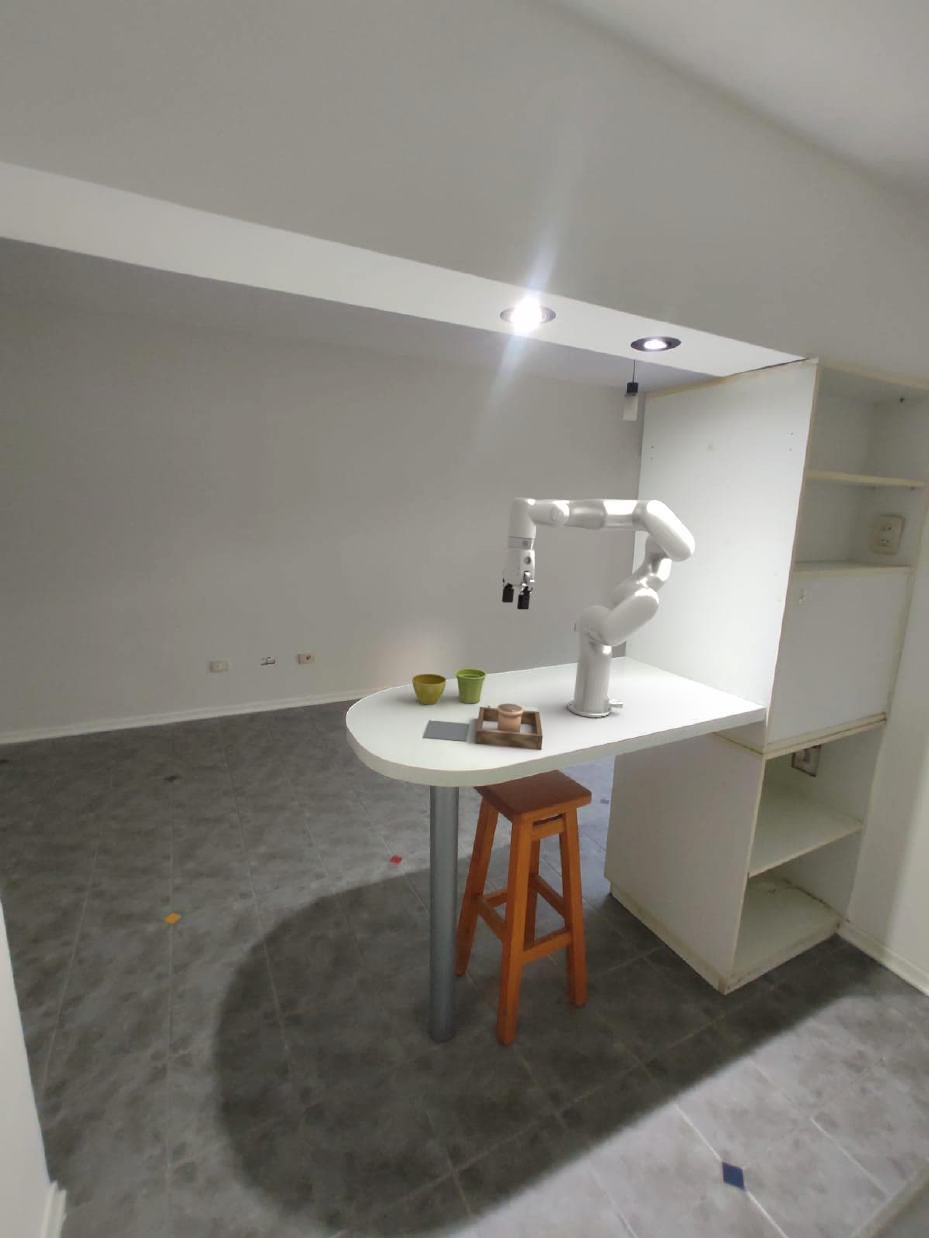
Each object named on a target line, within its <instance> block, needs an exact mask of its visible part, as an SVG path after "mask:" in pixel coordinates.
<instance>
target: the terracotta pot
mask: <svg viewBox="0 0 929 1238" xmlns="http://www.w3.org/2000/svg"><path fill="white" fill-rule="evenodd" d="M499 704H500V705H498V707H497V712H498V722H497V725H496V726H497V729H496V730H498V731H510V732H521V726H522V725H521V715H523V708H522V707H521V706H522V705H518V704H516V703H510V702H509V703H499Z"/></svg>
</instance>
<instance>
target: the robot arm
mask: <svg viewBox="0 0 929 1238" xmlns="http://www.w3.org/2000/svg"><path fill="white" fill-rule="evenodd" d="M509 508H510V509H509V520H508V528H507V529H508V530H507V541H506V549H507V550H506V551H507V552H506V556H505V562H504V570H503V571H502V598H501V601H502V603H504V604H505V603H510V604H511V603H513V602H514V594H515V588H514V586H515V587H518V591H519V594H518V596H517V607H516V608H517V610H526V611H527V610H529V609H530V607H529V606H530V598H531V595H532V592H533V587H534V584H535V567H536V566H535V565H536V564H535V562H536V561H535V560H536V559H535V557H536V556H535V545H536V536H537V527H538V526H540V527H546V528H551V529H552V528H553V529H556V528H560V527H566V528H567V527H571V528H580V529H585V530H586V529H587V530H590V531H591V530H593V531H596V530H597V531H621V532H623V531H625V532H627V531H628V532H645V533H648V535H647V537H646V540H645V545H644V559H643V561H642V562H641V565H639V567H638V568H637V569H635V571H634V572H633V573H631V574H630V575H629V576H628V577H626V579H625V580H624V581H622V582H621V583H620V584H618V585H617V586H616V587H615V588H614V589H613V590H612V592H611V594H610V596H609V604H610V605H611V608H613V609H610V608H608V607H606V606H603V605H600V604H599V605H597V604H595V605H591V606H588V607H586V608H585V609H584V610H583V611H582V613H581V614H580V616H579V621H578V634H579V635H578V636H579V637H578V638H579V639H578V641H579V642H578V643H579V644H578V656H577V666H576V673H575V674H576V675H575V684H574V685H575V687H574V693H573V699H572V700H570V701H569V702H568V703H567V708H568V709H567V710H569V711H570V712H571V713H574V714H575V715H578V716H581V715H582V716H581V717H586V716H587V718H595V717H597V718H602V717H601V716H604V715H608V714H609V713H610V712H611V711H612V708H615V709H623V707H624V702H623V701H618V699H616V698H613V699H612V698H609V697H608V691H609V684H610V683H609V681H610V675H611V674H610V673H611V666H612V665H611V664H612V659H613V658H612V657H613V647H617V646H620V645H621V644H623V643H625V642H626V641H627V640H629V639H630V638H631V637H633V636H634V635H635V634H636V633H637V632H638V631H640V629H642V628H643V627H644V626H646V624H647V623H649V622H650V621H651V620H652V619H653V618H654V617H655V616H656V613H657V611H658V608H659V606H660V605H659V604H660V600H659V597H658V594H657V592H658V591H659V590H660V589H661V588H662V587H663V586H664V585H665V584H666V583H667V581H668V579H669V577H670V573H671V567H672V562H676V563H677V562H678V563H679V562H684V561H686V560H687V559H689V558H690V557H691V556H692V555H693V553H694V551H695V540H694V537H693V536H692V534H691V533H690V531H689V530H688V529H687V528H686V527H685V525H684V524H682V522H681V521H680V520H679V518H677V517H676V515H675V514H674V513H673V512H672V511H671V510H670V508H668V506H666V505H665V504H664V503H662V502H661V501H659V500H652V499H651V500H648V499H646V500H642V499H641V500H640V499H612V498H611V499H610V498H590V499H579V500H578V499H577V500H576V499H555V498H553V499H552V498H546V499H545V498H544V499H535V498H531V497H517V496H516V497H514V498H512V499H511V501H510V507H509ZM611 713H612V712H611ZM611 713H610V714H611ZM610 714H609V715H610ZM609 715H608V716H609ZM599 716H600V717H599Z"/></svg>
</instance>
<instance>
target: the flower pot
mask: <svg viewBox="0 0 929 1238" xmlns="http://www.w3.org/2000/svg"><path fill="white" fill-rule="evenodd" d="M411 682H412V687H413V690H414V693H415V695H416V698H417V700H418V701H419V703H421V704H422V703H423V704H422V705H435V704H437V703H438V702H439V700H440V698H441V697H442V695H443V693H444V691H445V687H446V683H447V678H446V676H442V675H441V674H434V673H421V674H417V675H414V676H412V678H411Z"/></svg>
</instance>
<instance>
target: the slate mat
mask: <svg viewBox="0 0 929 1238" xmlns="http://www.w3.org/2000/svg"><path fill="white" fill-rule="evenodd" d="M470 726H471V723H465V722H454V721H441V720H431V719H429V721H428V724H427V725H426V728H425V731H424V734H423V736H422V738H423V739H432V740H442V739H443V740H444V741H454V742H455V741H456V742H467V740H468V735H469V730H470ZM443 740H442V741H443Z"/></svg>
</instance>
